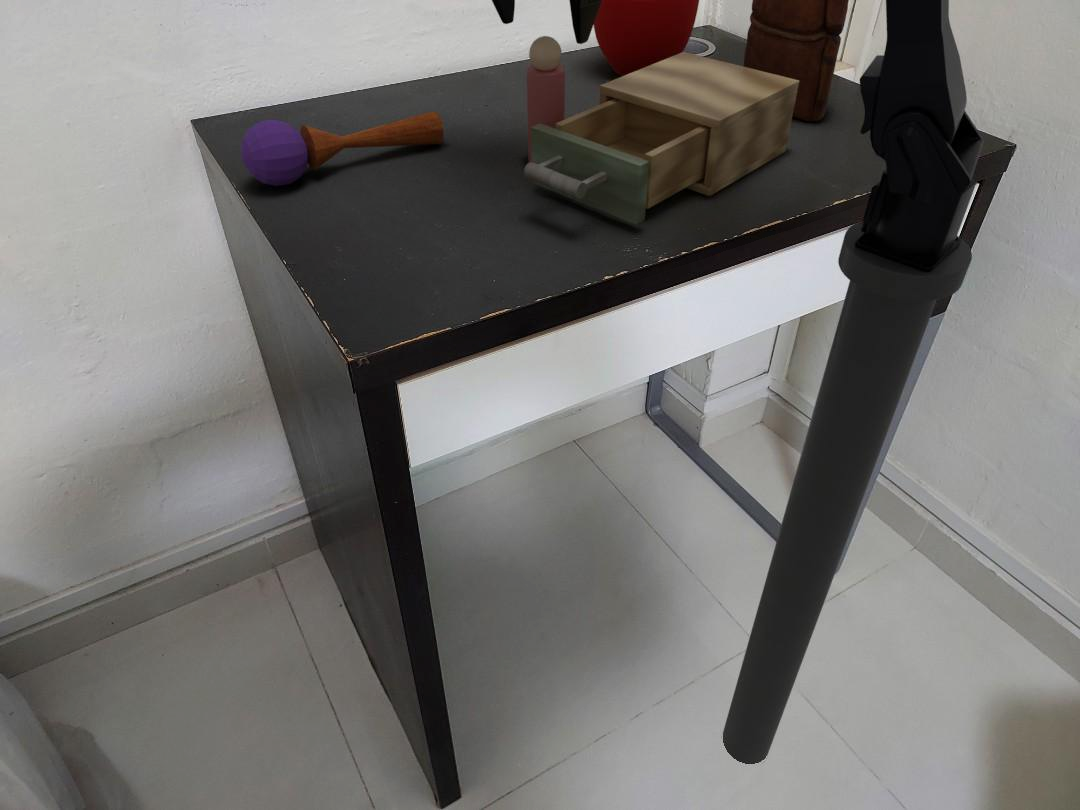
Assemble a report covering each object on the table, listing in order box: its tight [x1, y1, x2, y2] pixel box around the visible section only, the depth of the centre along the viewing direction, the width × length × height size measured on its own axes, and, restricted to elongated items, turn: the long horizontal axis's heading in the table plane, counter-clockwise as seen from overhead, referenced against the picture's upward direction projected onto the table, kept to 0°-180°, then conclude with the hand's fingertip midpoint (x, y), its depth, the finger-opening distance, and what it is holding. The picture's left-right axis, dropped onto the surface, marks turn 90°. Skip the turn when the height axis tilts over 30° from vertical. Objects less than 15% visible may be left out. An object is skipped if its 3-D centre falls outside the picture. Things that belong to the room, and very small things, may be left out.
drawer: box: [523, 98, 711, 226], centre depth 71 cm, size 17×12×5 cm
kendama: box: [240, 110, 445, 187], centre depth 78 cm, size 6×6×20 cm
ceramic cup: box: [593, 0, 700, 77], centre depth 98 cm, size 13×17×10 cm
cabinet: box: [599, 51, 799, 197], centre depth 78 cm, size 14×14×7 cm
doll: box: [525, 35, 566, 163], centre depth 76 cm, size 4×4×12 cm
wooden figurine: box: [743, 0, 850, 122], centre depth 84 cm, size 12×6×18 cm, turn 42°
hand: (543, 32), depth 71 cm, fingers open, 9 cm apart
